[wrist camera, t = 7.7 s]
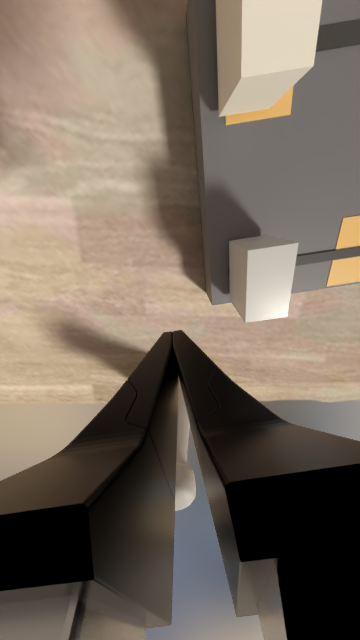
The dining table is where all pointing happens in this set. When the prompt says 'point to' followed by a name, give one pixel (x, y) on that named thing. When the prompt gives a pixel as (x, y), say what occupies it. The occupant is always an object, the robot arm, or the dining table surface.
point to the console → (282, 157)
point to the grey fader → (261, 276)
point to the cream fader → (263, 50)
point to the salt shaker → (183, 459)
